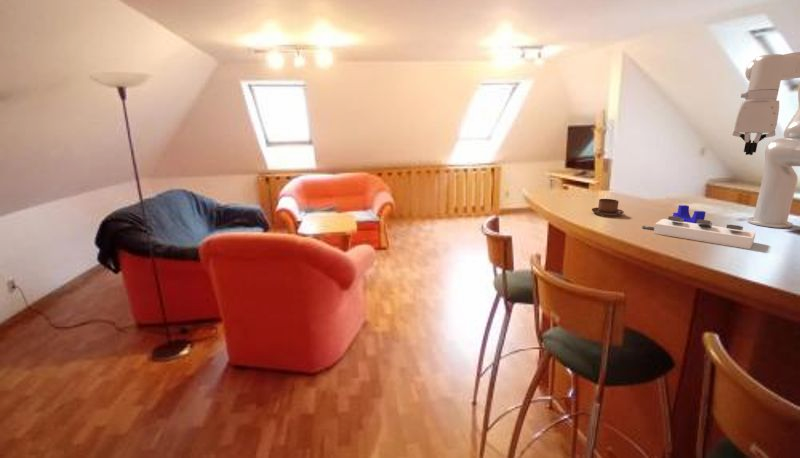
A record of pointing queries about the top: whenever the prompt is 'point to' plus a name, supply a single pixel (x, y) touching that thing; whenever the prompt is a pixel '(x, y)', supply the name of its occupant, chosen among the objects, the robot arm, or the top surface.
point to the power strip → (704, 233)
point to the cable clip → (684, 213)
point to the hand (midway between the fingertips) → (749, 154)
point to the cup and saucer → (608, 208)
